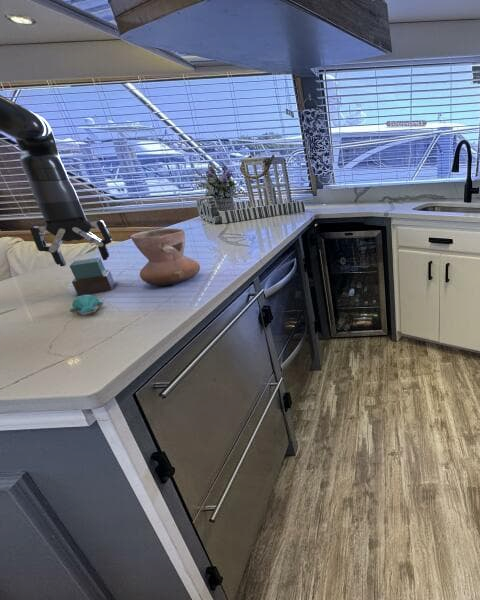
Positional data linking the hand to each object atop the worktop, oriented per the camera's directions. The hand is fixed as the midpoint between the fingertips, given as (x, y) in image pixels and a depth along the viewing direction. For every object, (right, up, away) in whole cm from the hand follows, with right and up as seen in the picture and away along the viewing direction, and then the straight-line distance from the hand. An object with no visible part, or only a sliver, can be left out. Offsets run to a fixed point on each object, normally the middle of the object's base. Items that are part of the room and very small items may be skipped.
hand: (85, 262), depth 86 cm
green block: (0, -3, +2) cm, 4 cm away
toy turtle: (+12, -13, -11) cm, 21 cm away
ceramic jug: (+19, -4, +8) cm, 21 cm away
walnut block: (0, -7, +3) cm, 8 cm away
